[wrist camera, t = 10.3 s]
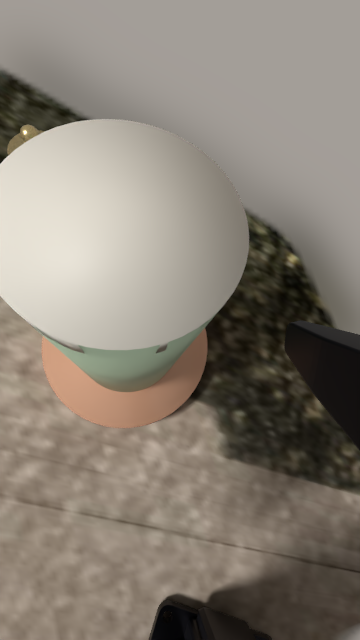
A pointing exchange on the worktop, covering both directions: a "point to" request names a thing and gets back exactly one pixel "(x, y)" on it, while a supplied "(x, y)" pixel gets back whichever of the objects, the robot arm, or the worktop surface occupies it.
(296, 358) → the robot arm
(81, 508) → the worktop surface
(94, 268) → the canister
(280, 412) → the worktop surface
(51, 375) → the dish
